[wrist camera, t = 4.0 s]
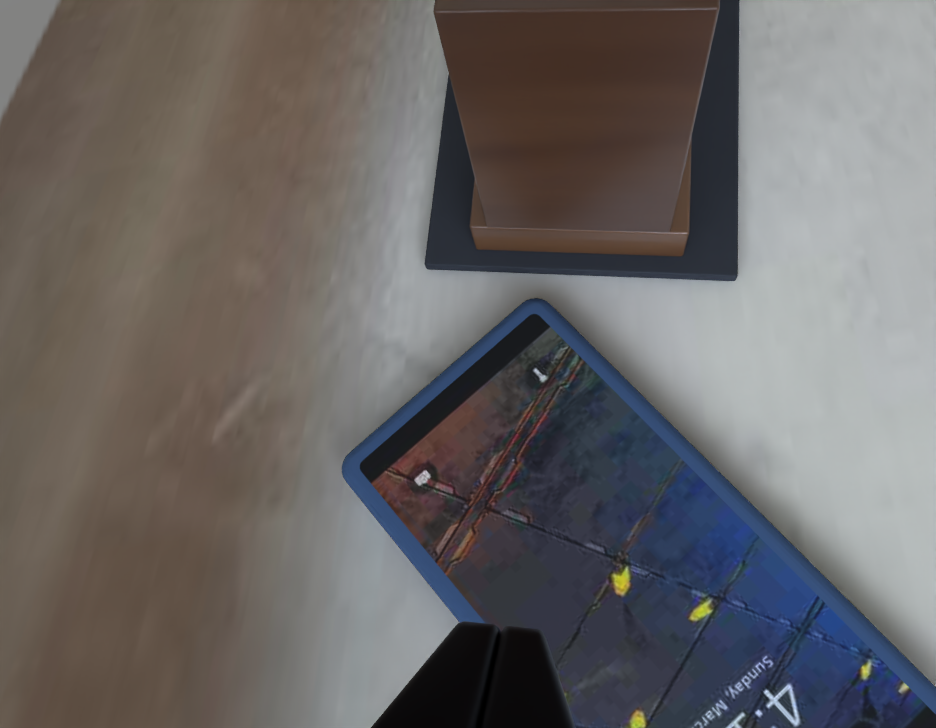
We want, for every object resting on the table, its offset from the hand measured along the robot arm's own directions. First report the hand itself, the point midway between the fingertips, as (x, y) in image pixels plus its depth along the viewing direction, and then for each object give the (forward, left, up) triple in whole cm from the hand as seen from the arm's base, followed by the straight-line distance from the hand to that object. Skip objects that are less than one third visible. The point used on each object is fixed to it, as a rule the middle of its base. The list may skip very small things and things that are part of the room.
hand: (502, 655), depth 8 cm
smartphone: (+2, -1, -14) cm, 14 cm away
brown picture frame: (+13, +8, -13) cm, 20 cm away
